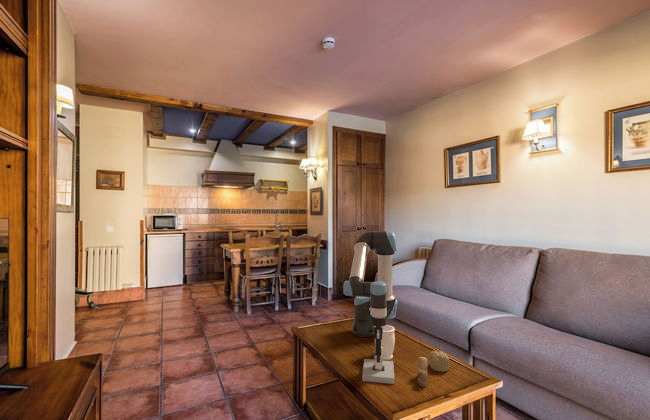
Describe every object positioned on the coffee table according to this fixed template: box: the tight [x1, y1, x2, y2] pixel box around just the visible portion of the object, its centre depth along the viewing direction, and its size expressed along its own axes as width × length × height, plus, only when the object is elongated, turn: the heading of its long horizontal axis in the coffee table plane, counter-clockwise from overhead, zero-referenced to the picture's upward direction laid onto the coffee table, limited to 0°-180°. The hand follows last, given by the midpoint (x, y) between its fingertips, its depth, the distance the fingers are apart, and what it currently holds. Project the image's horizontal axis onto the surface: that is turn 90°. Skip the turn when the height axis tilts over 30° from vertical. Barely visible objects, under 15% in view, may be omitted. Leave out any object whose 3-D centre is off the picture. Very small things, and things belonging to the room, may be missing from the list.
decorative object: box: [428, 350, 450, 373], centre depth 148 cm, size 9×10×10 cm
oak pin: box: [417, 356, 428, 373], centre depth 140 cm, size 4×4×8 cm
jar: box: [374, 324, 396, 361], centre depth 160 cm, size 11×10×15 cm
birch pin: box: [373, 345, 383, 371], centre depth 142 cm, size 4×4×12 cm
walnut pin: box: [417, 370, 429, 388], centre depth 133 cm, size 4×4×5 cm
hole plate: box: [361, 358, 395, 385], centre depth 142 cm, size 16×14×2 cm
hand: (378, 366), depth 142 cm, fingers closed on birch pin, 4 cm apart
